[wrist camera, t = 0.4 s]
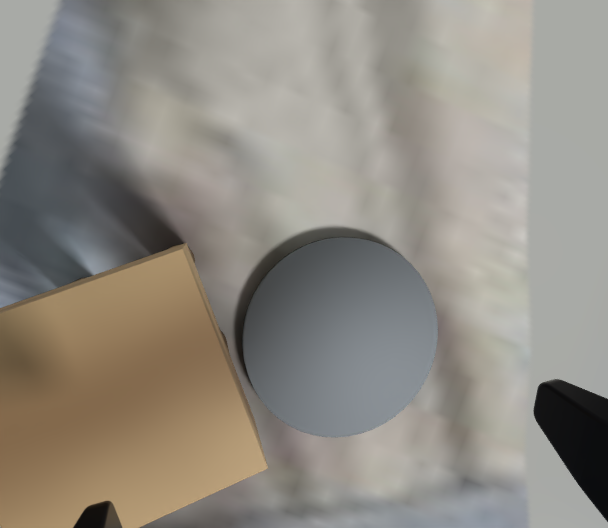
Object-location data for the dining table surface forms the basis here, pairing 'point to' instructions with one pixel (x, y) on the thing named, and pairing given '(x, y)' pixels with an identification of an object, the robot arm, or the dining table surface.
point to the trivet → (339, 336)
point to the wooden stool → (119, 398)
